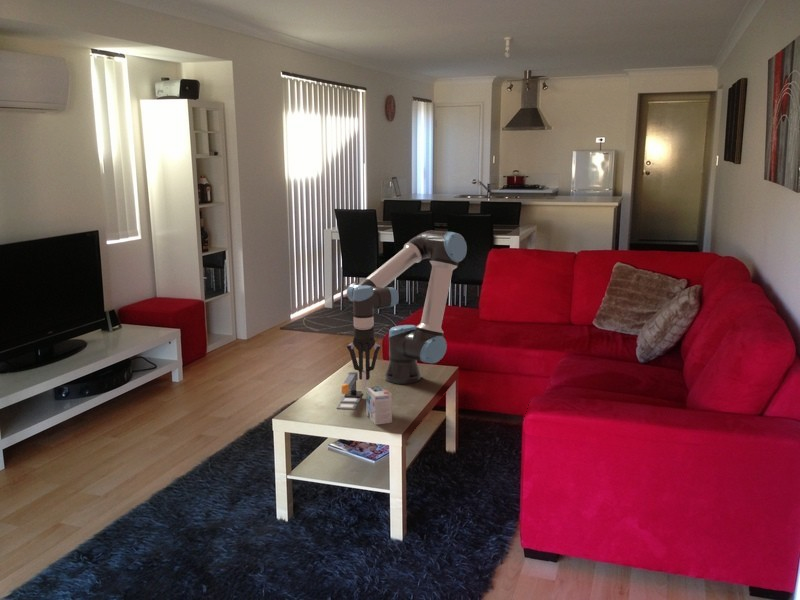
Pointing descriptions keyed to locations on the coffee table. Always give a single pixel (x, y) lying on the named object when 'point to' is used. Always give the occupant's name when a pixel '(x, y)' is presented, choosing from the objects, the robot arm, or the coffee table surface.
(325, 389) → the coffee table surface
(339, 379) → the coffee table surface
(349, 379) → the cable arm
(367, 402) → the light bulb box
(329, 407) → the coffee table surface
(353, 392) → the post
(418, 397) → the coffee table surface
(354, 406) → the label
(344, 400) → the label
